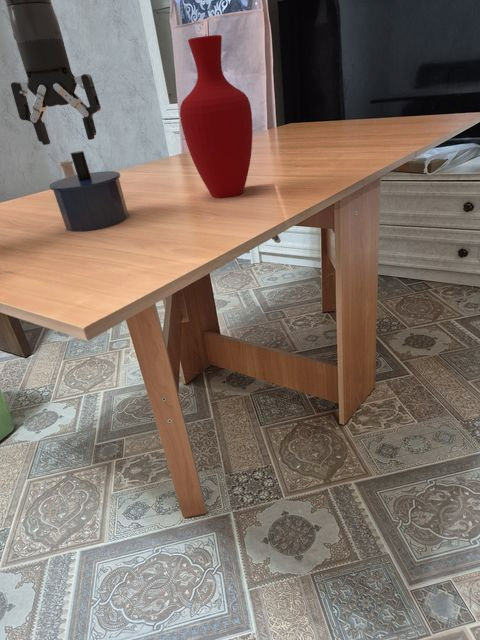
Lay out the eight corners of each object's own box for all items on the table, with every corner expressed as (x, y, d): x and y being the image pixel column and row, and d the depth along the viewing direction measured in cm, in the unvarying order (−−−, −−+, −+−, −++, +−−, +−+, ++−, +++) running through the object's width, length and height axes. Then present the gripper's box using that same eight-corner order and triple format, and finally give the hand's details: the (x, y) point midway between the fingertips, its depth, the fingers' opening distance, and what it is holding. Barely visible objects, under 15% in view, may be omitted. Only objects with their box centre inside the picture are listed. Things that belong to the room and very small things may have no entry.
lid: (40, 197, 87) (28, 163, 84) (63, 181, 98) (53, 150, 95) (112, 188, 87) (103, 153, 83) (127, 173, 98) (119, 142, 95)
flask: (91, 199, 118) (79, 157, 113) (95, 204, 112) (82, 160, 107) (62, 205, 116) (48, 162, 110) (64, 211, 110) (50, 166, 105)
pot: (58, 237, 91) (43, 193, 87) (77, 219, 102) (64, 179, 98) (121, 229, 91) (109, 185, 87) (133, 212, 102) (123, 171, 97)
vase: (209, 189, 113) (185, 41, 97) (268, 186, 108) (252, 31, 93) (184, 207, 101) (152, 42, 85) (249, 204, 97) (227, 30, 81)
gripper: (86, 35, 82) (111, 135, 91) (7, 44, 83) (38, 143, 91) (74, 32, 76) (101, 140, 84) (-12, 42, 76) (23, 149, 85)
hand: (69, 141), depth 88 cm, fingers open, 8 cm apart
